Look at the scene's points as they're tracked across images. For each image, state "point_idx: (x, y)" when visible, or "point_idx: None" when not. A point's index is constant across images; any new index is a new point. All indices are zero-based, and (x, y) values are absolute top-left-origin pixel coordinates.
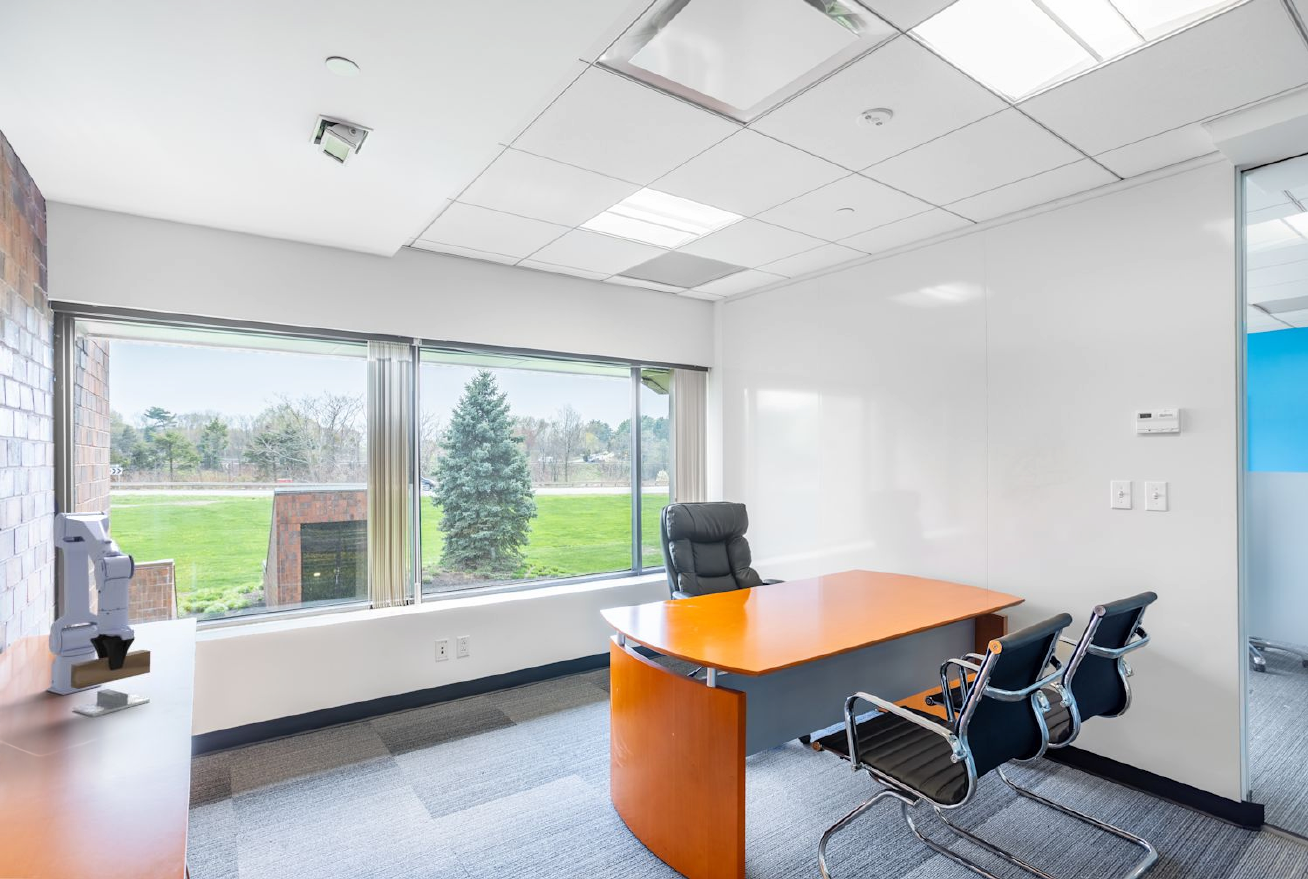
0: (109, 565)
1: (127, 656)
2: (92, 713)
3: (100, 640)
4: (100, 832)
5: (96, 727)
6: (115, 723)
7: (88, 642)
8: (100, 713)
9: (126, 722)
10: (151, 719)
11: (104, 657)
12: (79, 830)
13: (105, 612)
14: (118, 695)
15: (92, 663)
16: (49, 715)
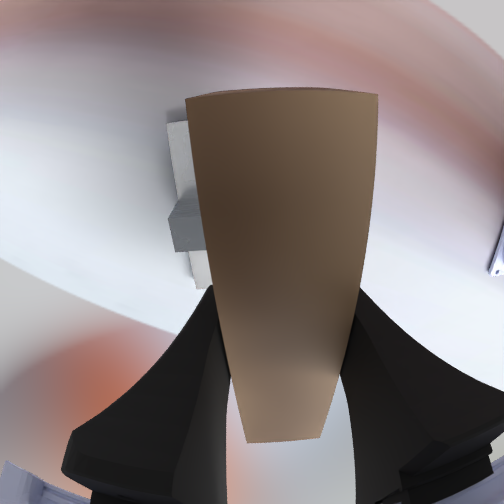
0: None
1: (236, 395)
2: (177, 124)
3: (402, 456)
4: None
5: (58, 108)
6: (55, 154)
7: None
8: (171, 146)
9: (45, 177)
10: (32, 224)
11: (351, 336)
12: None
13: None
14: (187, 227)
15: (202, 220)
16: (365, 55)
